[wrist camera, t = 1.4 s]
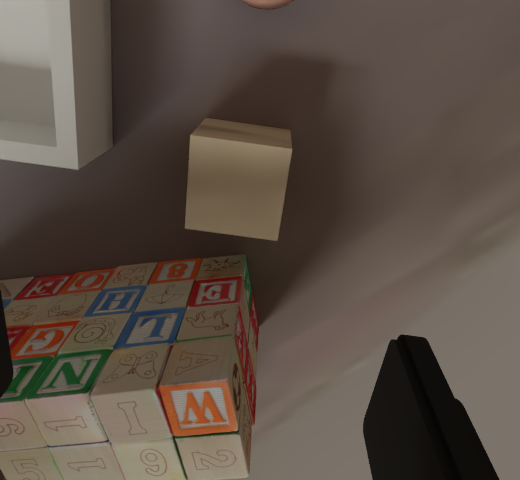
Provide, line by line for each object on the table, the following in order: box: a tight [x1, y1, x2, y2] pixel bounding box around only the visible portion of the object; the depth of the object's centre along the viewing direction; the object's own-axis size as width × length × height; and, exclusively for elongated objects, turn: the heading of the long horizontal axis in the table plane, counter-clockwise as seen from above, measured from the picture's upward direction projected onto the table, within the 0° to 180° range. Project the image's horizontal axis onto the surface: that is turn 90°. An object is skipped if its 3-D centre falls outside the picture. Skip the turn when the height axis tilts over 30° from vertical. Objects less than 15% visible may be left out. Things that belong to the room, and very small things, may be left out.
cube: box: [185, 118, 292, 241], centre depth 24 cm, size 5×5×5 cm
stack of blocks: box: [0, 254, 259, 480], centre depth 26 cm, size 21×6×12 cm, turn 98°
